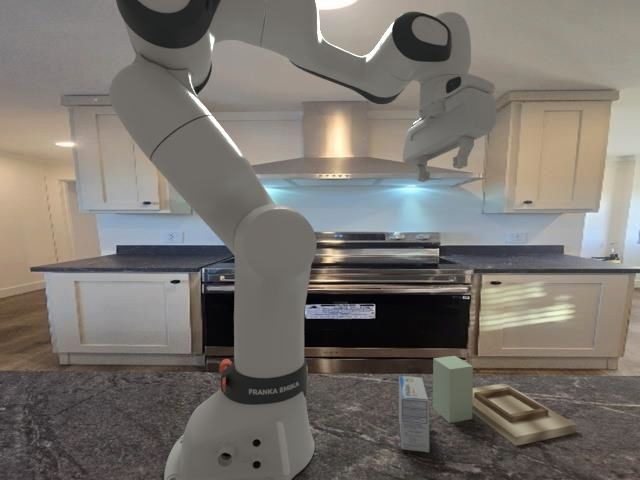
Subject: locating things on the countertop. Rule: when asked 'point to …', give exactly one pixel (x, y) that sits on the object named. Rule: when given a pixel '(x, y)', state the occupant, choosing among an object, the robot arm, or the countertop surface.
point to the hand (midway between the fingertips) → (440, 174)
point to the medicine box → (413, 414)
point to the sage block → (453, 388)
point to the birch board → (518, 415)
